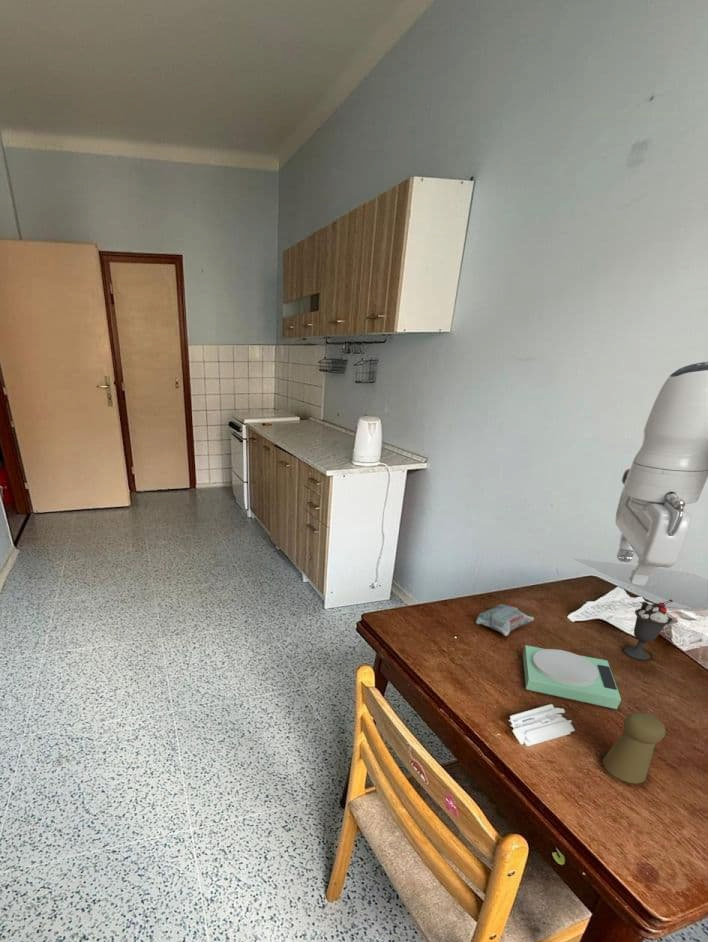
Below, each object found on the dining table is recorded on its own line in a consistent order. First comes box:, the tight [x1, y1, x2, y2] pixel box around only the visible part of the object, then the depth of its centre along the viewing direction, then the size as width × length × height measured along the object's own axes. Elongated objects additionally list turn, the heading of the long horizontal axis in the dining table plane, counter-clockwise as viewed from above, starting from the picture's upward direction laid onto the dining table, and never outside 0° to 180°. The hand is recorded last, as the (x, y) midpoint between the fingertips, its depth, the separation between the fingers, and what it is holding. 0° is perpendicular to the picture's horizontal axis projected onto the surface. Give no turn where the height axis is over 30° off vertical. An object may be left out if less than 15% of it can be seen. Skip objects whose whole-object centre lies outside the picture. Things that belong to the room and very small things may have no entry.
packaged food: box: [475, 603, 535, 637], centre depth 119 cm, size 9×12×5 cm
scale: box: [522, 644, 622, 710], centre depth 100 cm, size 16×14×4 cm
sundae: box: [623, 599, 674, 661], centre depth 105 cm, size 7×7×15 cm
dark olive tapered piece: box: [602, 711, 666, 784], centre depth 77 cm, size 6×6×11 cm
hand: (629, 571), depth 75 cm, fingers open, 8 cm apart
